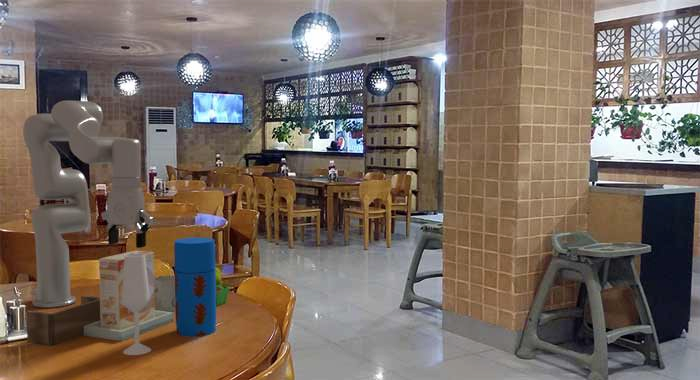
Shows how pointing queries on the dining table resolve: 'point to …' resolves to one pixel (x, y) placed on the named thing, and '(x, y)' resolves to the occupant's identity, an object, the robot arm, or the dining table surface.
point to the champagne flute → (135, 295)
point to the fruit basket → (220, 289)
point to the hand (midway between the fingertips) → (127, 245)
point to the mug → (164, 293)
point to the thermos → (195, 286)
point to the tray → (127, 333)
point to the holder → (62, 322)
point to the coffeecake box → (111, 292)
